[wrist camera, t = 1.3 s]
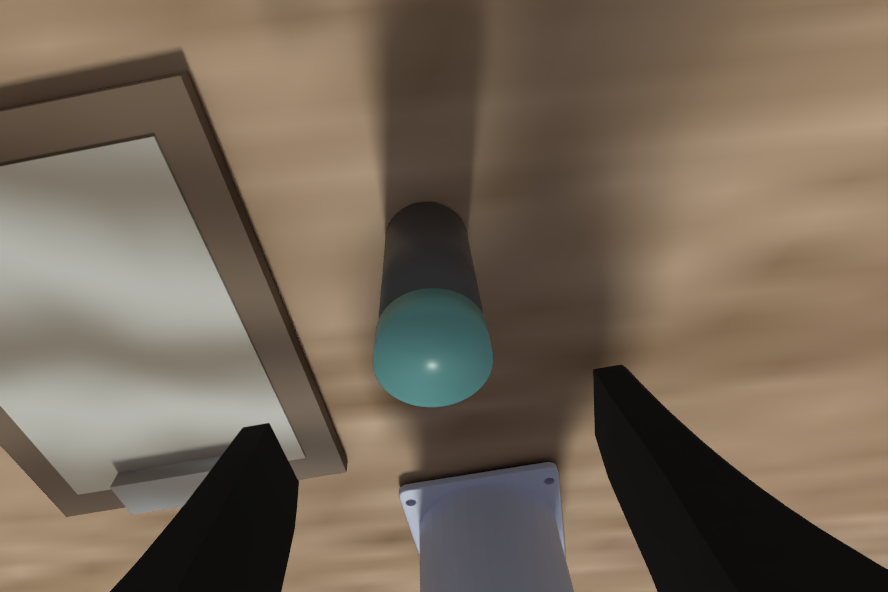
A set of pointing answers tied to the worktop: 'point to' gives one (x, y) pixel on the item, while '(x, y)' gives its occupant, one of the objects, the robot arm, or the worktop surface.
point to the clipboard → (138, 305)
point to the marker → (430, 311)
